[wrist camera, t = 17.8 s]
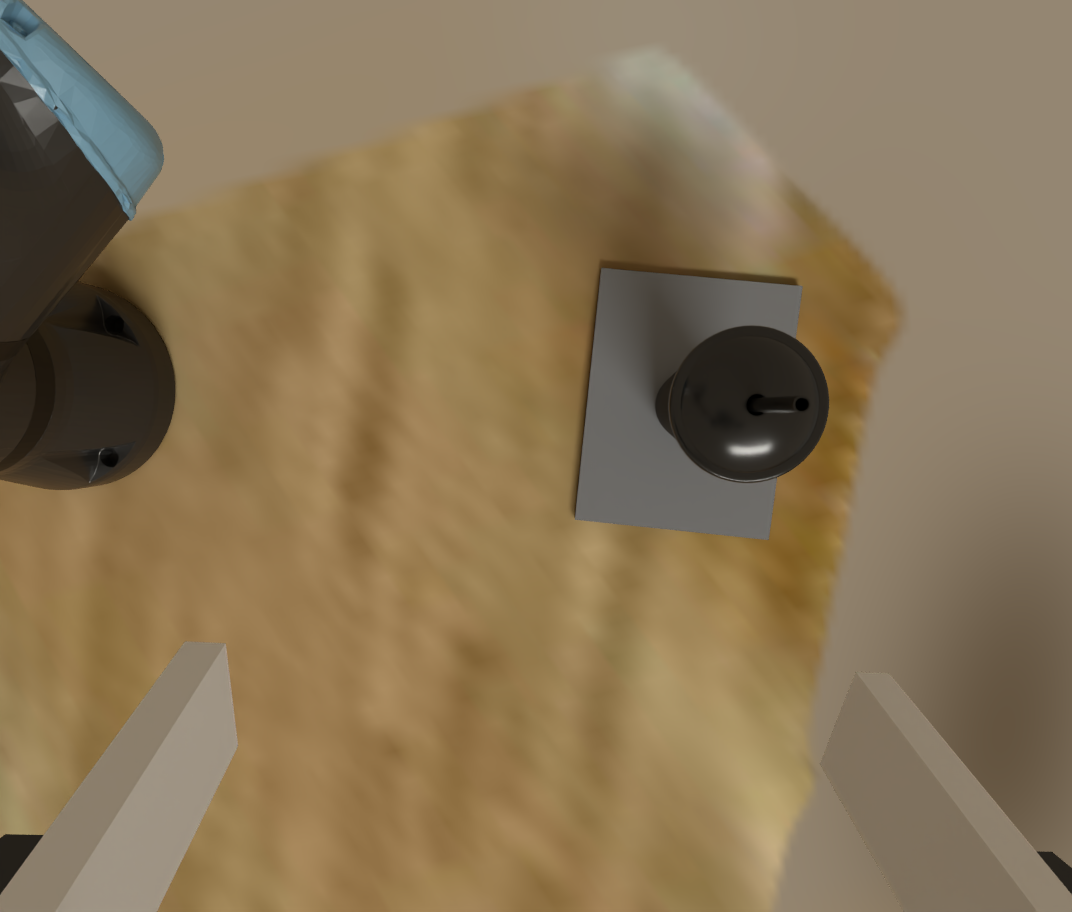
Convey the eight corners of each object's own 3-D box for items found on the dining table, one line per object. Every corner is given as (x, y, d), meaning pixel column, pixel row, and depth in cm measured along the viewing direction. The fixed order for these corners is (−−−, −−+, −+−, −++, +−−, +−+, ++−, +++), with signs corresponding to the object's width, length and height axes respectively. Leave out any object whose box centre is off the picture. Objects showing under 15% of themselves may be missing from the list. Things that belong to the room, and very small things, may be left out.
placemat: (574, 518, 44) (575, 519, 43) (600, 269, 43) (601, 267, 42) (765, 537, 44) (768, 539, 43) (799, 287, 42) (802, 286, 42)
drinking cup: (644, 467, 43) (716, 519, 23) (627, 361, 42) (685, 321, 22) (751, 449, 43) (918, 486, 23) (735, 342, 42) (892, 284, 22)
